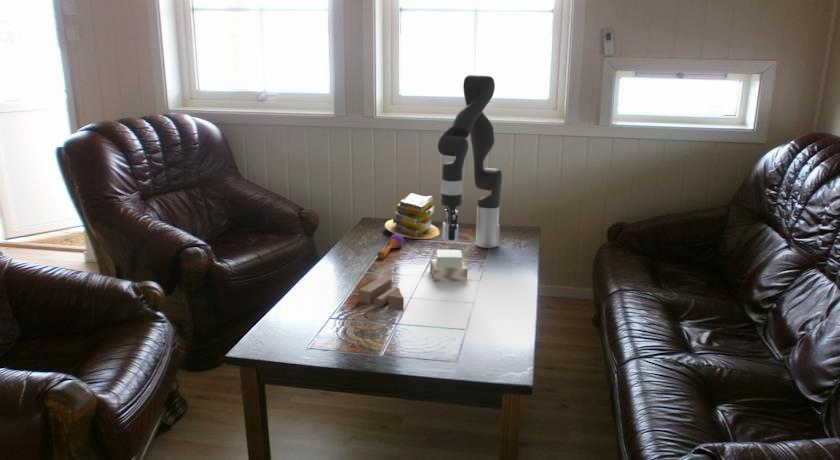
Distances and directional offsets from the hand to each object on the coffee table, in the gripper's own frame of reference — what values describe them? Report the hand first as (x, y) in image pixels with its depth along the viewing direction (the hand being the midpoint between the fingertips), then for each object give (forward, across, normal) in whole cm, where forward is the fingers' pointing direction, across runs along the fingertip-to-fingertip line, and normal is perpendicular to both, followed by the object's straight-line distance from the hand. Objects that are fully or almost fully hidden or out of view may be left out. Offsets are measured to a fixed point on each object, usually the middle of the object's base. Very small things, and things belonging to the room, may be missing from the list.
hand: (450, 237), depth 240 cm
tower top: (+10, 0, 0) cm, 10 cm away
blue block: (+1, 0, 0) cm, 1 cm away
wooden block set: (+15, -21, +23) cm, 34 cm away
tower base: (+15, 0, 0) cm, 15 cm away
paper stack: (+15, +59, +8) cm, 61 cm away
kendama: (+15, +30, +20) cm, 39 cm away
